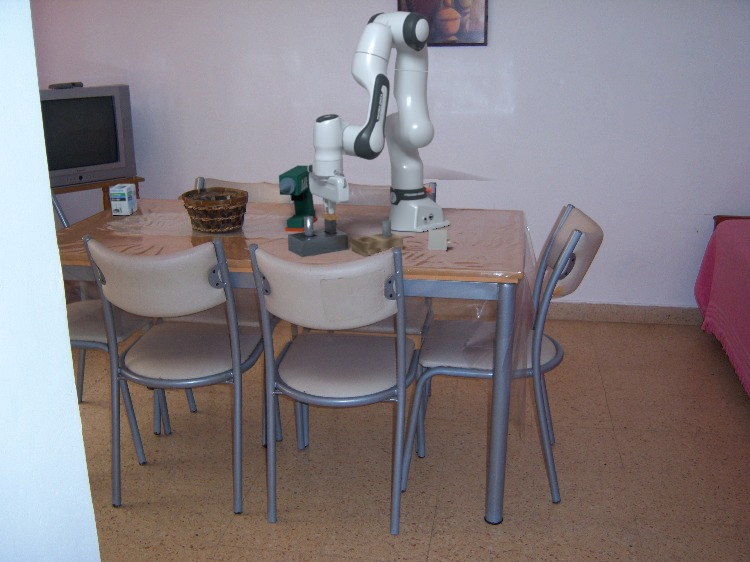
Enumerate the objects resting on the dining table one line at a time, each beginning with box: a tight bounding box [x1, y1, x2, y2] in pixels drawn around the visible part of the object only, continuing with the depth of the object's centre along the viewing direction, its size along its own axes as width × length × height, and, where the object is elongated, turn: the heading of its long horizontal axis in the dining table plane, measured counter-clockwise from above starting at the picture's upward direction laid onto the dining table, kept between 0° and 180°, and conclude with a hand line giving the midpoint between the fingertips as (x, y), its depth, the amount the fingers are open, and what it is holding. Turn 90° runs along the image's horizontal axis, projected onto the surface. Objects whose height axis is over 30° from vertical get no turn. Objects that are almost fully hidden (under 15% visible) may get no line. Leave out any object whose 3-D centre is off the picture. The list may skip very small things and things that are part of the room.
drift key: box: [321, 213, 340, 235], centre depth 247 cm, size 3×5×8 cm, turn 31°
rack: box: [350, 219, 404, 257], centre depth 244 cm, size 14×8×9 cm, turn 121°
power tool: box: [278, 165, 319, 233], centre depth 270 cm, size 32×7×20 cm, turn 168°
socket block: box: [287, 228, 349, 258], centre depth 246 cm, size 16×10×5 cm, turn 121°
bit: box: [304, 216, 315, 238], centre depth 244 cm, size 3×3×11 cm
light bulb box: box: [109, 183, 138, 216], centre depth 300 cm, size 11×7×11 cm, turn 179°
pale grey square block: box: [427, 228, 452, 250], centre depth 243 cm, size 3×7×7 cm, turn 87°
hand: (329, 212), depth 245 cm, fingers closed
